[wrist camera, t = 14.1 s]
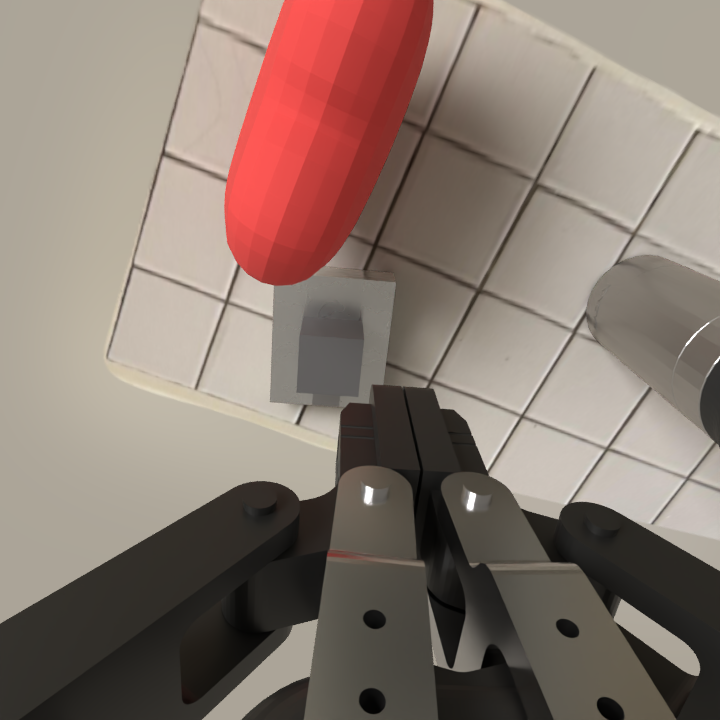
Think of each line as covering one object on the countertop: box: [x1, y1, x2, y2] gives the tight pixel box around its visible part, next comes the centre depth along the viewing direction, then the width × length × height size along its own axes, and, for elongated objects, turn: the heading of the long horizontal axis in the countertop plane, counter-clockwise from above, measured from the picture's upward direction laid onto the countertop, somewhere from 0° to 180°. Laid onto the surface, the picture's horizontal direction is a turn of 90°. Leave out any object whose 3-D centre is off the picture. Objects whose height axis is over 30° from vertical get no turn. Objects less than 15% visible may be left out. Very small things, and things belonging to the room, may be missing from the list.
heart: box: [224, 0, 433, 286], centre depth 34 cm, size 20×9×19 cm, turn 156°
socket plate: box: [270, 267, 396, 407], centre depth 48 cm, size 10×12×4 cm
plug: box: [296, 316, 364, 397], centre depth 46 cm, size 5×5×7 cm
